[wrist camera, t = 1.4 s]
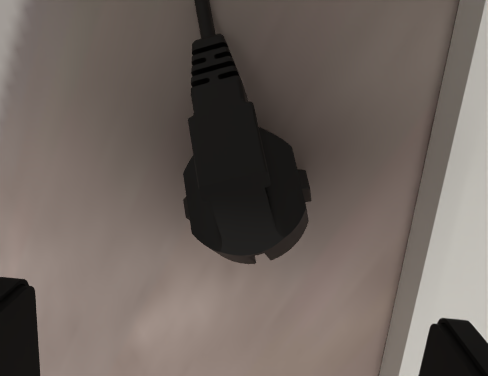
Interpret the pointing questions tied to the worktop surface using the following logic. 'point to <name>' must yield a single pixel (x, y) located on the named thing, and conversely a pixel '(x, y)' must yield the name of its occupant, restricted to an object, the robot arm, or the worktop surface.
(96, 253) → the worktop surface
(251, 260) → the power plug
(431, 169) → the tray
